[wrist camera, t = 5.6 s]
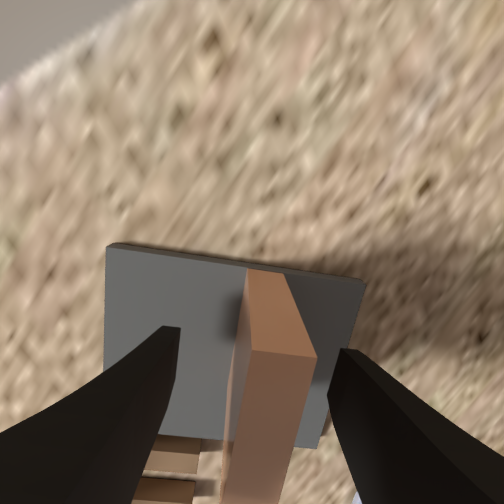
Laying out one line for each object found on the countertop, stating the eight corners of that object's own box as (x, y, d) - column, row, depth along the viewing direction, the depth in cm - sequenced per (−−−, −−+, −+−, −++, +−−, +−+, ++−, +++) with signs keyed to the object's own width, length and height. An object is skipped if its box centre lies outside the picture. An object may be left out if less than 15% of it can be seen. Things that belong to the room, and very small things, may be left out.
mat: (359, 279, 11) (366, 284, 11) (313, 437, 14) (316, 449, 13) (113, 242, 11) (105, 246, 10) (108, 417, 13) (102, 428, 12)
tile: (259, 387, 12) (270, 530, 7) (227, 384, 12) (218, 527, 7) (283, 273, 11) (317, 357, 6) (247, 268, 10) (252, 349, 6)
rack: (202, 434, 13) (199, 455, 12) (192, 498, 15) (189, 521, 14) (53, 420, 13) (38, 440, 12) (56, 487, 14) (42, 510, 13)
